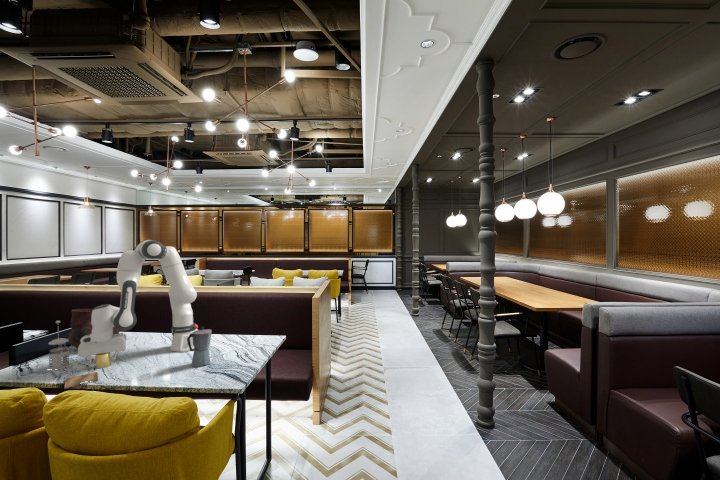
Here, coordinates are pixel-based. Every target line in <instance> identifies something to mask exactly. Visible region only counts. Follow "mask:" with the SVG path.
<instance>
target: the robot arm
mask: <svg viewBox="0 0 720 480" xmlns="http://www.w3.org/2000/svg"><path fill="white" fill-rule="evenodd" d="M146 260H158V262H159V263H160V266H161V270H162V272H163V276H164V278H165V280H166V281H167V283H168V284H169V286H170V288H169V289H168V296H169V302H170V308H171V312H172V313H171V314H172V325H171V336H172V339H171V343H170V344H171V345H170V351H172V352H181V353H185V352H191V351H190V349H189V345H188V342H187V338H188V337H189V335H190V334H192V332H194V331H197V330H199V329H198V328H199V326H198V324H196V323H194V316H193V315H194V312H193V309H192V304H191V303H193V302H195V300H196V299H197V297H198V294H197V293H198V292H197V290H196V289H195V288H194V286H193V284H192V281H191V280H190V278H189V276H188V275H187V272H186V270H185V267H184V263H183V261H182V258H181V256H180V254H179V253H178V250H177V248H175V247H174V246H171V245H169V246H165V245H164V244H162V243H161V242H160V241H158V240H155V239H154V240H153V239H147V240H142V241H140V242H139V243H137V245H136V246H135V247H134V248H133V249H132V250H130V249H129V250H125V251H124V252H122V253H121V254H120V258H119V260H118V265H117V268H116V269H117V270H116V283H117V285H118V287H119V289H120V290H119V291H120V295H121V296H120V304H119V307H118V306H114V305H111V304H110V303H108V304H107V303H106V304H101V305H98V306H96V307H94V308H92V309H93V311H92V317H91V324H92V327H93V328H92V333H91V334H88V335H86V336H84V337H82V338H81V340H80V342H81V344H80V345H79V347H78V348H77V356H78V357H79V358H82V357H86V360H88V361H89V364H90V365H91V364H94V363H95V359H93V358H91V357H92V356H96V354H103V353H109V352H110V353H114V355H112V356H111V358H112V359H111V361H115V360H117V355H118V354H119V352H121V351H125V350H126V348H127V341H126V340H127V334H126V333H123V332H126V331H129V330H132V329H133V328H134V327H135V326H136V324H137V321H138V319H137V315H136V313H135V303H136V296H137V289H138V285H139V283H140V279H141V275H142V268H143V267H142V266H143V263H144V262H145V261H146ZM113 327H115V328H116V329H117V330H119V334H113ZM190 344H191V348H192V349H194V346H193V337H190ZM211 345H212V342H211V341H210V345H209V347H210V346H211Z"/></svg>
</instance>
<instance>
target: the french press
mask: <svg viewBox="0 0 720 480" xmlns="http://www.w3.org/2000/svg"><path fill="white" fill-rule="evenodd" d="M60 323H61V320H56V321H55V324H60ZM59 329H60V328H59V327H57V338H54V339H52V340H51V341H49V342H48V343H47V344H48V345H50V346H55V345H56V346H57V345H58V347H56V348H55V347H54V348H52V349H50V350H49V353H48V361H49V362H48V368H47V369H52V370H55V369H61V368H65V367H68V366H70V365H71V364H72V363H70V356H69V355H70V350H69V349H68V348H69V347H67V346H62V345H66V343H69V342H68V341H69V340H68V338H63V337H59V336H60V332H59ZM71 366H72V365H71ZM71 366H70V367H71ZM68 368H69V367H68ZM65 369H66V368H65ZM61 370H62V369H61Z"/></svg>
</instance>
